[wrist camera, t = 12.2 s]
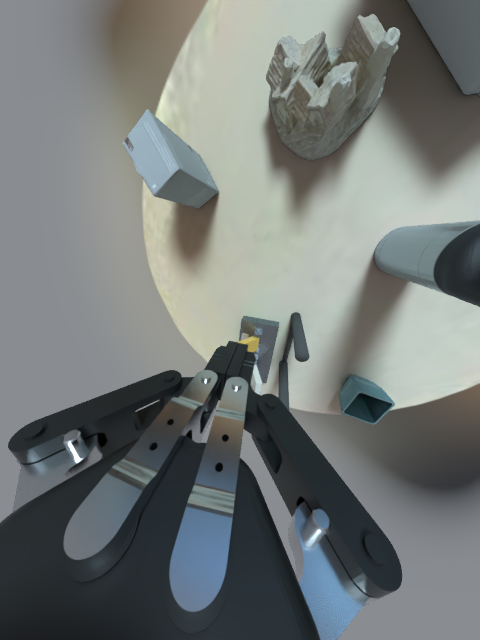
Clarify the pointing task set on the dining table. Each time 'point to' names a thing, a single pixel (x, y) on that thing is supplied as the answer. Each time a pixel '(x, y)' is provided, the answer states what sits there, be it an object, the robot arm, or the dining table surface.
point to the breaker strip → (261, 341)
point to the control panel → (454, 37)
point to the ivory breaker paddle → (256, 380)
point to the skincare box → (169, 163)
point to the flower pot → (364, 400)
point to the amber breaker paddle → (251, 343)
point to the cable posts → (300, 355)
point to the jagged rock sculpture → (328, 86)
